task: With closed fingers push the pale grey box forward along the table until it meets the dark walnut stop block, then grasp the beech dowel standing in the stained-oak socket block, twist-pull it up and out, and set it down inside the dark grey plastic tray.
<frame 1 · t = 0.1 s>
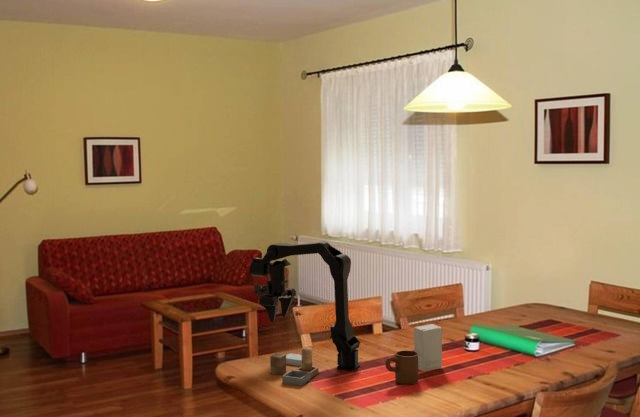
hand: (278, 319, 254), 14 cm above the table, fingers open, 9 cm apart
socket block: (307, 374, 235), on the table
stop: (278, 372, 238), on the table
tray: (296, 381, 228), on the table
skincare box: (427, 368, 241), on the table
mug: (401, 382, 227), on the table
pale grey box: (295, 363, 250), on the table
dowel: (306, 361, 235), in the socket block
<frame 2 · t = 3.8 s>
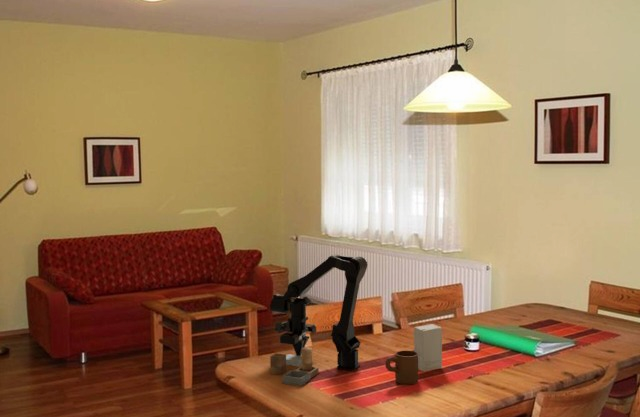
hand: (298, 356, 252), 1 cm above the table, fingers closed
pale grey box: (293, 364, 249), on the table, touching gripper
everything else where it was.
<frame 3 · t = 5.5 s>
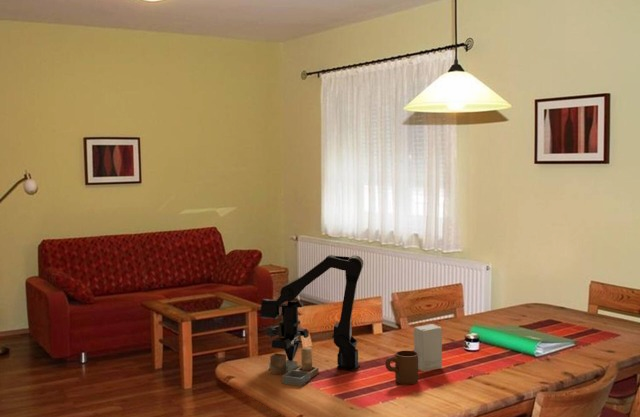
hand: (290, 361, 246), 1 cm above the table, fingers closed
pale grey box: (283, 368, 243), on the table
everything else where it was.
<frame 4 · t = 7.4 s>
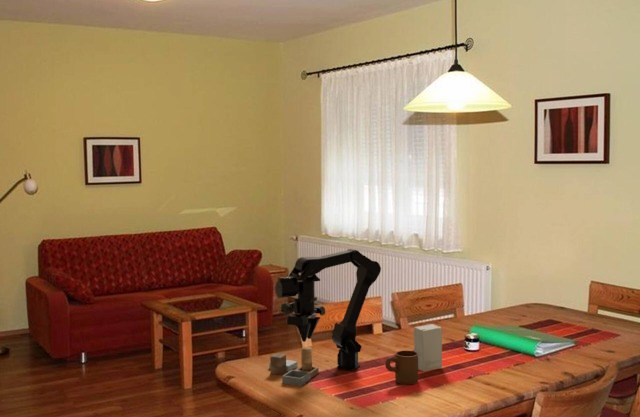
hand: (306, 340, 234), 12 cm above the table, fingers open, 4 cm apart
nothing on the table moved.
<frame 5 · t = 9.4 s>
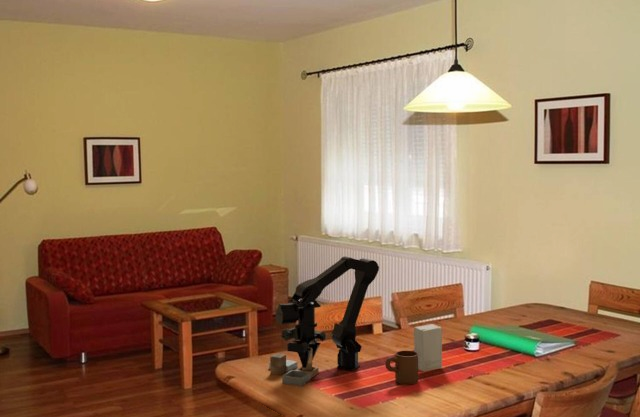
hand: (306, 365, 235), 3 cm above the table, fingers closed on dowel, 4 cm apart
dowel: (307, 361, 235), in the socket block, touching gripper
everything else where it was.
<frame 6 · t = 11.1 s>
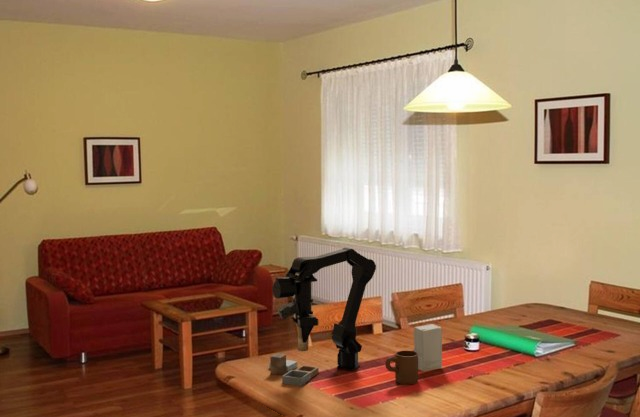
hand: (303, 341, 232), 12 cm above the table, fingers closed on dowel, 4 cm apart
dowel: (303, 336, 232), point 14 cm above the table, touching gripper
everything else where it was.
when the fingers open (4 cm above the table, at t = 13.1 s): dowel stays where it is, resting on tray.
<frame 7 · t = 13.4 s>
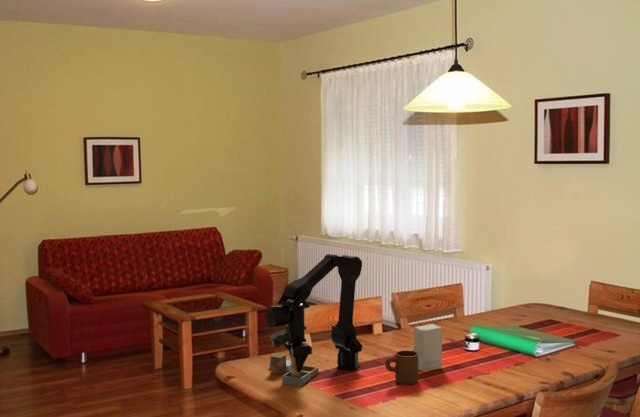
hand: (296, 368, 228), 4 cm above the table, fingers open, 6 cm apart
dowel: (296, 366, 228), in the tray
everything else where it was.
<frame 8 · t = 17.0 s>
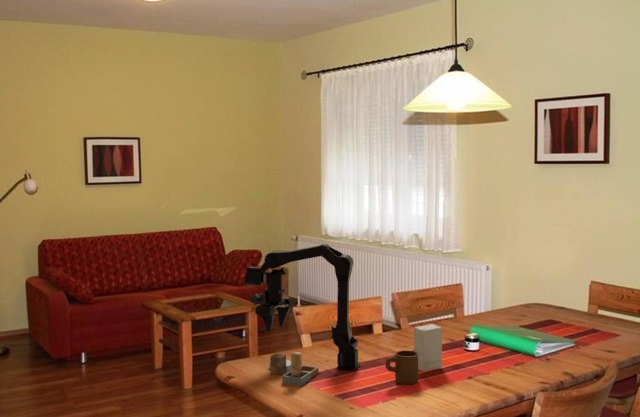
hand: (275, 329, 247), 12 cm above the table, fingers open, 9 cm apart
nothing on the table moved.
at the end: pale grey box inside the target area (0.9 cm from its centre), on the table; dowel 0.0 cm off-centre on the tray, point 5.0 cm above the tray's base; the gripper is holding nothing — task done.
